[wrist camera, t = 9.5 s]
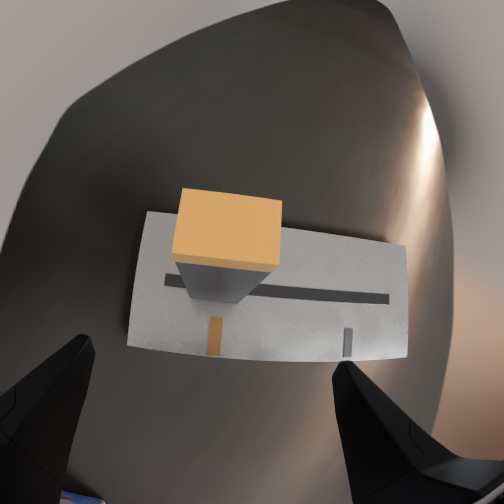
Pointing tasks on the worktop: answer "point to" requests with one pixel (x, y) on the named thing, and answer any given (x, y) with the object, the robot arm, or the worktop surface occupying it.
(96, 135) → the worktop surface
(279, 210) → the fader lever
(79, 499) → the medicine box
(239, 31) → the worktop surface
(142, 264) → the fader console
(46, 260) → the worktop surface
